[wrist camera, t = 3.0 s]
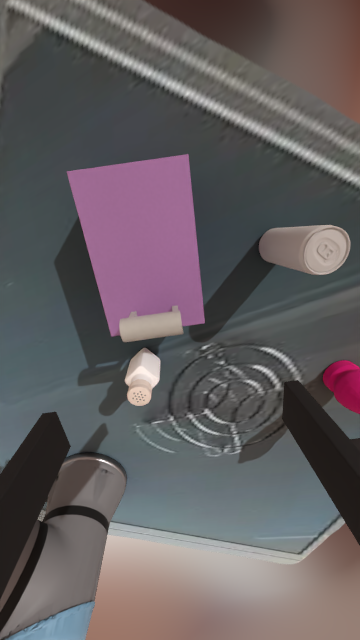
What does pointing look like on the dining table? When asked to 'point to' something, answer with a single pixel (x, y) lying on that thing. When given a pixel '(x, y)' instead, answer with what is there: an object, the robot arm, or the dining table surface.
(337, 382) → the pepper mill
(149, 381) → the salt shaker
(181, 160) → the lid
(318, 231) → the beverage can
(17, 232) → the dining table surface
